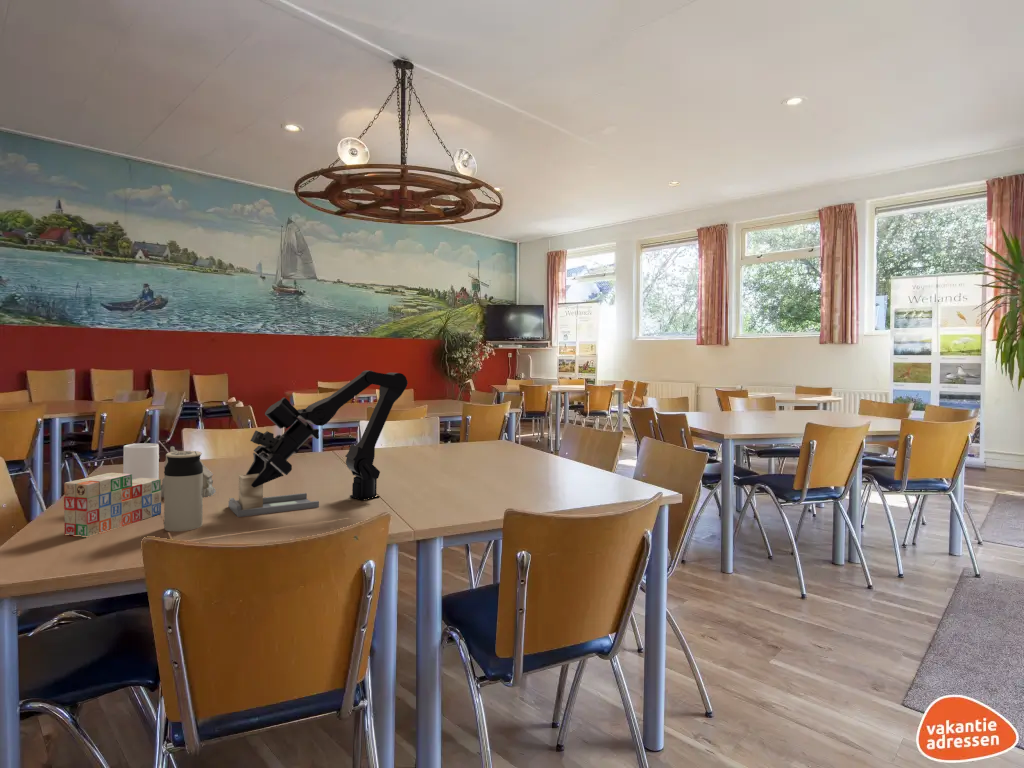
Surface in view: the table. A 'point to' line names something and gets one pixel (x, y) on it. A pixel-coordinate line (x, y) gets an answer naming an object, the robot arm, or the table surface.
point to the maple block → (250, 492)
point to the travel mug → (183, 491)
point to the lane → (275, 505)
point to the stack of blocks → (109, 502)
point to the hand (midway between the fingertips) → (248, 483)
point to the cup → (141, 460)
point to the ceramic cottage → (207, 479)
